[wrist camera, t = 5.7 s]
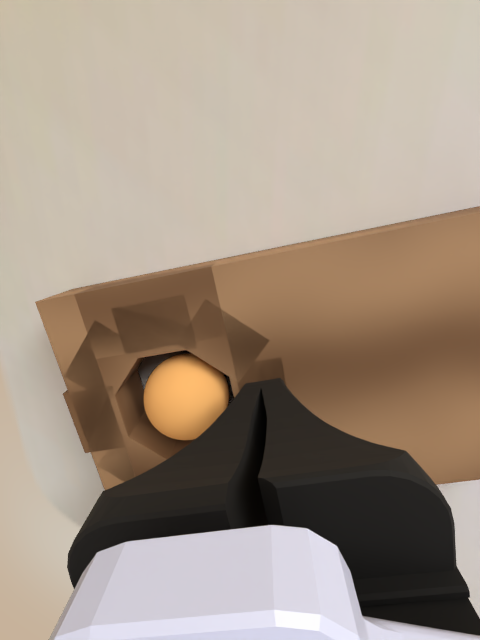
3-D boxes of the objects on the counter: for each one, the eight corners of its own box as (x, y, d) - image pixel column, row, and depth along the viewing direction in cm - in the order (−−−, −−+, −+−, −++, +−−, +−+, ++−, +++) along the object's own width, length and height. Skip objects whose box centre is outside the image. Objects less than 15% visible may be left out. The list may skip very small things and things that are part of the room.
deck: (493, 433, 15) (537, 472, 13) (132, 481, 17) (111, 524, 15) (491, 203, 13) (545, 199, 10) (67, 290, 15) (29, 303, 12)
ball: (150, 419, 15) (223, 401, 16) (153, 470, 12) (243, 445, 13) (136, 350, 14) (214, 335, 15) (135, 386, 11) (233, 365, 12)
